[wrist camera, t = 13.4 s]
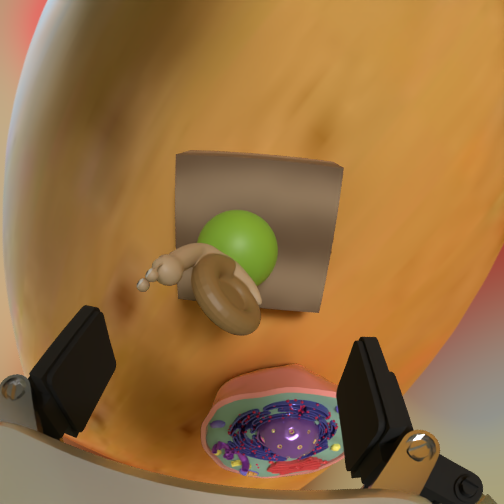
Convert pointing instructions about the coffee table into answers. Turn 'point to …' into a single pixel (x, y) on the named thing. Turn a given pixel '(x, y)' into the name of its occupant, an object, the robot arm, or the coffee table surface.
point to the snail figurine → (224, 269)
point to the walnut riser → (265, 215)
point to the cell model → (274, 423)
